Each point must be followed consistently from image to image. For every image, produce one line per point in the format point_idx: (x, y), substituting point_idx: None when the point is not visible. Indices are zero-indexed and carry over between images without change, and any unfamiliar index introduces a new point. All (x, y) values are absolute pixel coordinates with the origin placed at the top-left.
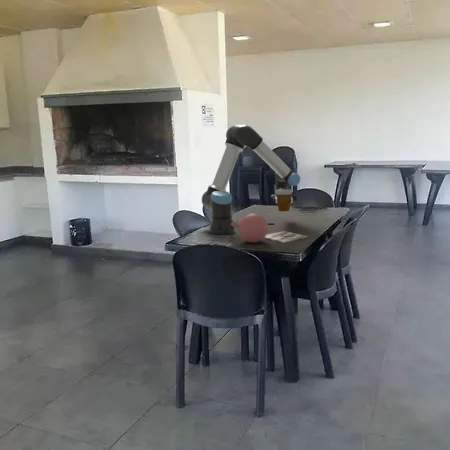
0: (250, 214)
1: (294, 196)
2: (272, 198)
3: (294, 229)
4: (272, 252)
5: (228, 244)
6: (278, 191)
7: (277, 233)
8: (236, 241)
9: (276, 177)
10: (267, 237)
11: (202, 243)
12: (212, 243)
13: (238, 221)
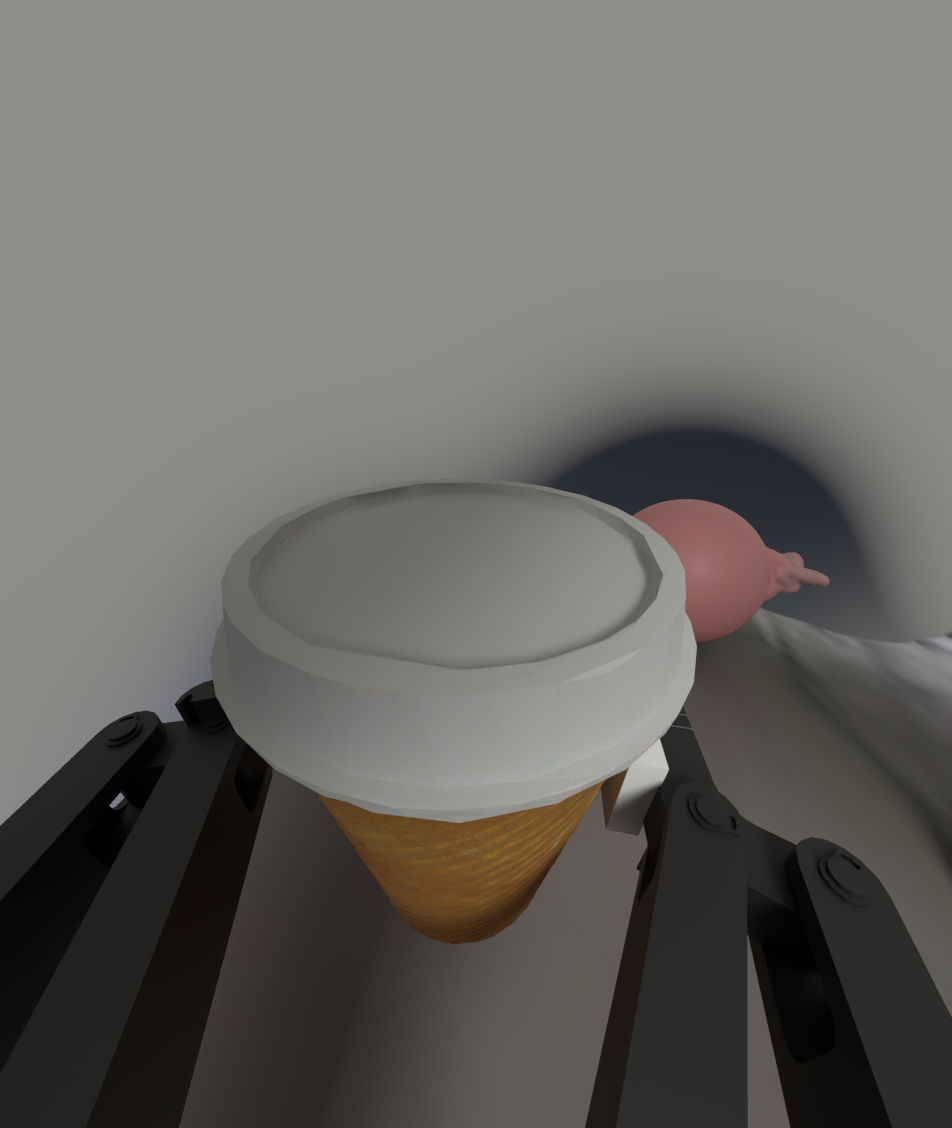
0: (710, 502)
1: (125, 768)
2: (753, 838)
3: (355, 912)
4: None
5: (762, 618)
6: (592, 510)
7: None
8: (753, 650)
9: None
10: None
11: (919, 652)
12: (860, 643)
13: (775, 551)
